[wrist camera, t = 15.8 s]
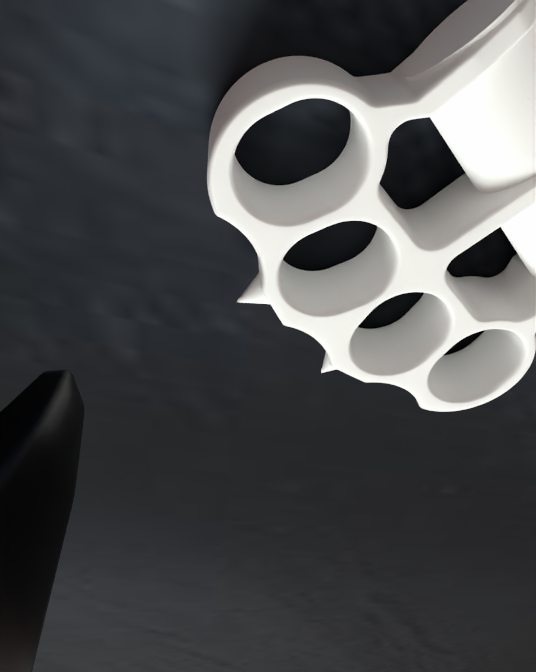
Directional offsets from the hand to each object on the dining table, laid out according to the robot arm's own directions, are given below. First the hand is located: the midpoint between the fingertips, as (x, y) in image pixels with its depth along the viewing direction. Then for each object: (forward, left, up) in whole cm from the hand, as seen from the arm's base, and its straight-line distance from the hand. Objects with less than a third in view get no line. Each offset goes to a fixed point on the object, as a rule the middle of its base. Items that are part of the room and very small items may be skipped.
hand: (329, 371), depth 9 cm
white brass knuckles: (+1, -7, -13) cm, 15 cm away
